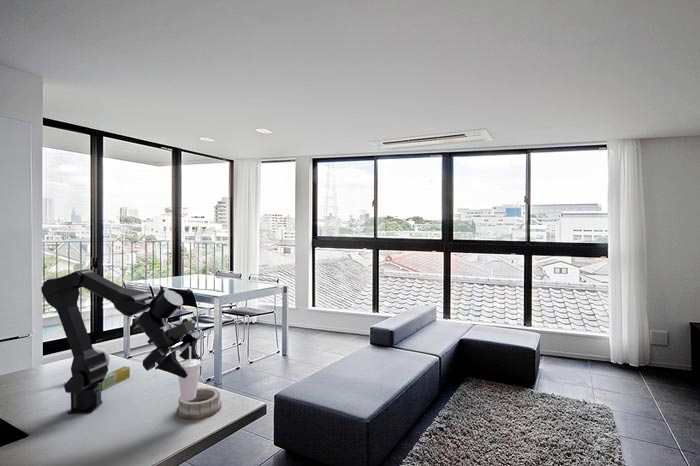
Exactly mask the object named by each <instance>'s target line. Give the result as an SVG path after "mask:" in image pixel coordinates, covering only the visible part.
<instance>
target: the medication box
mask: <svg viewBox="0 0 700 466" xmlns="http://www.w3.org/2000/svg"><path fill="white" fill-rule="evenodd" d="M130 370H131V368H130V367H129V366H122V367H120V368H116V369H115V370H113V371H110V372H107V374H106V376H105V378H104V381H103V382H102V383H99V390H101V392H102V391H105V390H107V389H109V388H111V387H113V386H115V385H116V384H119V383H122V382H123V381H125V380H128V379H129V378H131V376H130V375H131V371H130Z"/></svg>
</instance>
